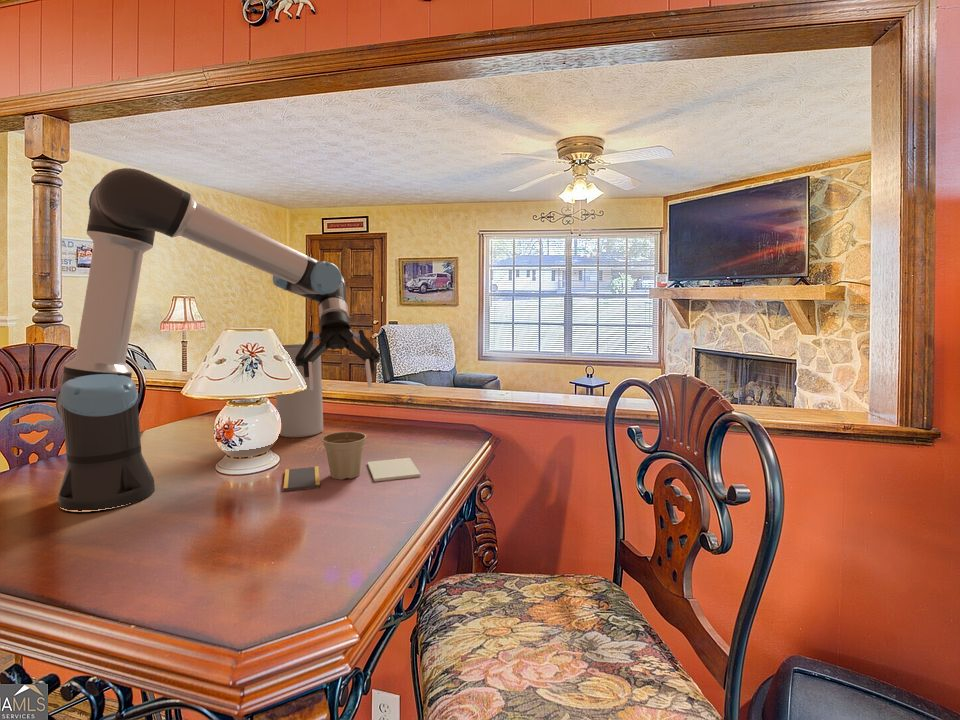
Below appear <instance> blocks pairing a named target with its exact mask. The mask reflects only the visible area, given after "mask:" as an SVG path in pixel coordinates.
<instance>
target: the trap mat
mask: <svg viewBox="0 0 960 720" xmlns="http://www.w3.org/2000/svg"><path fill="white" fill-rule="evenodd" d="M284 471H285V472H284V480H283V492H291V491H292V492H293V491H300V490H299V489H301V490H308V489H307V488H310V489H317V487H319V488H321V483H320V471H319V465H317V466H311V467H300V468H285V470H284Z"/></svg>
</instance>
